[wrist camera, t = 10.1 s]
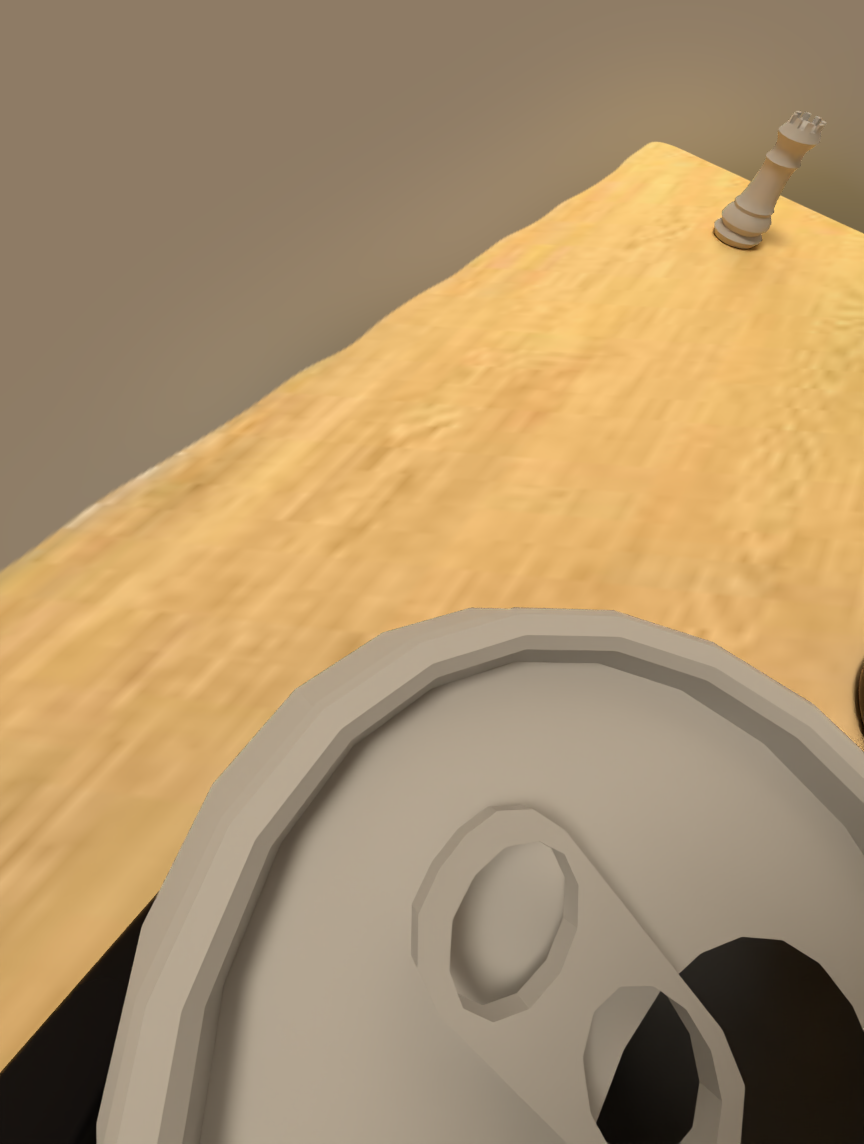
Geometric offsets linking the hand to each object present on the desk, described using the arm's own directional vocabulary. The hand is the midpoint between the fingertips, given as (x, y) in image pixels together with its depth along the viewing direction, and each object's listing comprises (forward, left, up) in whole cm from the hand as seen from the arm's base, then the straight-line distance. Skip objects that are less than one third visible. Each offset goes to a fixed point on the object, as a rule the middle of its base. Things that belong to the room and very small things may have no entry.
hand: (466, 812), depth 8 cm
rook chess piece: (+52, -15, -10) cm, 55 cm away
